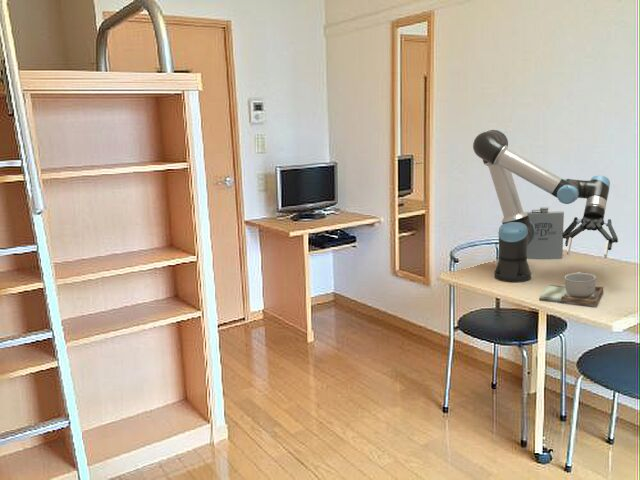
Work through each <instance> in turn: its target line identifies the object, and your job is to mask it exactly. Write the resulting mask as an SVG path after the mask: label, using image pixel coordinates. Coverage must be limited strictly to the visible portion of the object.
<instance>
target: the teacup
mask: <svg viewBox="0 0 640 480" xmlns="http://www.w3.org/2000/svg"><path fill="white" fill-rule="evenodd" d="M596 278H597V277H596V275H594V274H592V273H586V272H582V271H577V272H573V273H572V272H571V273H568V274H566V275H564V286H565V289H566V292H567V293H568V294H569V295H570V296H571V297H573V298H581V299H584V298H588V297H590V296H591V295H593V294H594V292H595V286H596V282H597V281H596Z"/></svg>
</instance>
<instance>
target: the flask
mask: <svg viewBox="0 0 640 480" xmlns="http://www.w3.org/2000/svg"><path fill="white" fill-rule="evenodd" d="M524 212H525V213H527V214H528V217H529V220H530V221H531V222H532V224H533V225H534V228H535V235H534V238H533V240H532V241H531V242H530V243H529V244H528V245H527V260H562V259H563V255H564V254H563V253H564V252H563V251H564V250H563V249H564V238H563V236H562V233H563V232H564V220H565V219H564V217H565V211H561V210H559V211H549V207H548V206H542V207H540V208H537V209H531V211H524Z"/></svg>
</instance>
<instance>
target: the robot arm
mask: <svg viewBox="0 0 640 480" xmlns="http://www.w3.org/2000/svg"><path fill="white" fill-rule="evenodd" d="M508 145H509V140H508V138H507V135H506V134H505V133H504V132H502V131H501V130H497V129H491V130H490V129H489V130H487V131H483V132H481V133H479V134H477V136H476V137H475V138H474V140H473V143H472V148H473V152H474V153H475V155H476V156H477V157H479V159H481V160H482V162H483V165H484V166H486V167H488V170H489V172H490V177H491V179H492V183H493V185H494V189H495V192H496V193H495V194H496V196H497V198H498V199H497V200H498V202H499V205H500V209H501V211H502V215H503V217H502V220H501V223H502V224H501V225H500V226H499V229H498V233H497V234H498V261H497V264H496V267H495V270H494V279H496V280H497V281H501V282H507V283H521V282H527V281H530V279H532V273H531V269H530V266H529V262H528V259H527V245H528V244H529V243H530V242H531V241H532V240H533V238H534V235H535V228H534V225H533V224H532V222H531V221H530V220H529V217H528V214H527V213H525V212H526V211H524V210H523V207H522V203H521V200H520V196H519V193H518V190H517V186H516V184H515V180H514V178H513V174H514V175H516V176H517V177H520V178H522V179H523V180H525V181H527V182H529V183H531V184H532V185H533V186H536V187H538V188H539V189H541V190H543V191H544V192H546V193H549V194H550V195H552V196H553V197H555V198H557V200H558V201H559V202H560V203H562V204H565V205H569V204H572V203H574V202H575V201H577V200H578V199H586V202H585V206H584V211H583V217H582V218H578V217H576V216H574V218H573V220H572V222H571V223H570V224H569V226H568V227H567V228H566V229H565V230H563V233H562V236H563V240H564V239H565V243H564V244H565V247H566V255H568V256H569V255H570V252H571V246H572V243H573V239H574V238H575V237H576V236H577V235H579V234H580V233H582V232H583V231H585V230H587V231H598V232H599V233H600V234H601V235H602V236H603V238H605V240H606V242H605V246H604V252H603V257H604V259H608V258H607V257H608V253H609V251H612V248H613V243H616V244H617V243H618V242H619V238H618V235H617V233H616V231H615V229H614V228H613V225H612V222H613V221H612V219H611V218H609V219H607V220H604V219H605V212H606V208H607V201H608V198H609V193H610V184H611V181H610V179H609V178H608V177H606V176H605V175H599V174H598V175H594V176H593V177H591V178H590V180H583V179H581V180H580V179H571V178H562V177H560V176H558V175H556V174H555V173H553V172H551V171H549V170H547V169H545V168H544V167H542V166H540V165H538V164H537V163H534V162H533V161H531V160H529V159H527V158H525V157H523V156H522V155H520V154H518V153H516V152H514V151H512V150H511V149H509V148H508ZM512 173H513V174H512ZM580 223H581V224H580ZM579 224H580V225H579ZM578 225H579V226H578ZM604 225H605V226H606V227H607V228H608V230H609V233H610V234H609V233H608V232H607V231H606V230H605V228H604V227H603V226H604ZM577 226H578V227H577Z"/></svg>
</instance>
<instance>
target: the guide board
mask: <svg viewBox="0 0 640 480" xmlns="http://www.w3.org/2000/svg"><path fill="white" fill-rule="evenodd" d="M603 294H604V286H598V285H595V292H594V294H593V295H591V296H590V297H588V298H584V299H581V298H573V297H571V296H570V295H569V294H568V293H567V292H566V289H565V285H556V284H548V286H547V287H546V288H545V289H544V291H543V292H542V293H541V295H540V296H539V298H538V301H542V302H547V303H548V302H549V303H556V302H557V304H564V303H565V305H573V306H574V305H575V306H582V307H587V308H588V307H590V308H597V307H598V304H599V303H600V300H601V299H602V296H603Z"/></svg>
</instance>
